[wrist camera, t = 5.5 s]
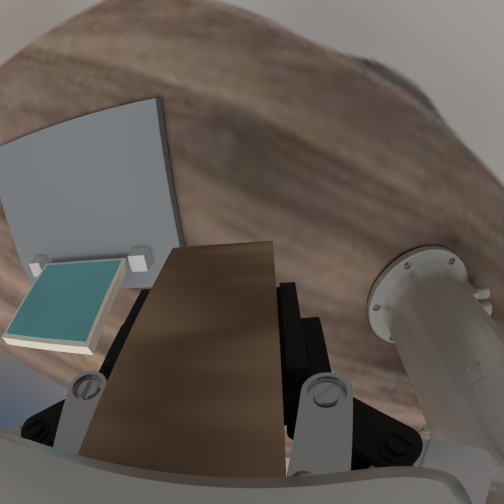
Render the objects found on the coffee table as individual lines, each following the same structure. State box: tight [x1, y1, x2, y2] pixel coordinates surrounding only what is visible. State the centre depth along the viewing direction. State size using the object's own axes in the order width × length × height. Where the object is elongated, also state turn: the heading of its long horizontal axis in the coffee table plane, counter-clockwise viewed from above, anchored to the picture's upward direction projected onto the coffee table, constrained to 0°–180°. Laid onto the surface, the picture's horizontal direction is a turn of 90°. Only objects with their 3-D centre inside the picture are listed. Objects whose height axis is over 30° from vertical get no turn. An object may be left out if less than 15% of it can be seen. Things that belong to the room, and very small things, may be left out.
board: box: [0, 98, 185, 288], centre depth 26 cm, size 20×17×3 cm
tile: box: [2, 258, 129, 355], centre depth 24 cm, size 10×10×1 cm
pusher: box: [78, 241, 286, 477], centre depth 9 cm, size 4×4×10 cm
